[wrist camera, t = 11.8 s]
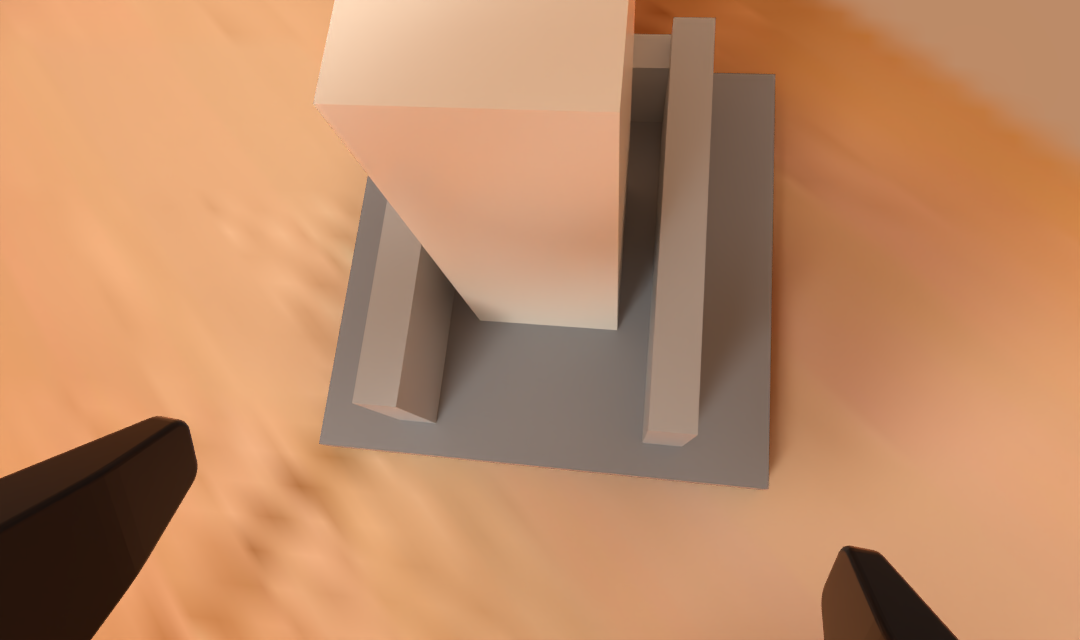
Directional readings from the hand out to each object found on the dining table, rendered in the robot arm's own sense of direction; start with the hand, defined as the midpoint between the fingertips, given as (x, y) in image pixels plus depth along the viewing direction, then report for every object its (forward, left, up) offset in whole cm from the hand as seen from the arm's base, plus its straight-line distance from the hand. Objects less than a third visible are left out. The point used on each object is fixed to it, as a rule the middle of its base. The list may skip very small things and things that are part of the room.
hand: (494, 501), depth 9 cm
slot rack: (+5, +6, -13) cm, 15 cm away
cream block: (+5, +6, -12) cm, 14 cm away
